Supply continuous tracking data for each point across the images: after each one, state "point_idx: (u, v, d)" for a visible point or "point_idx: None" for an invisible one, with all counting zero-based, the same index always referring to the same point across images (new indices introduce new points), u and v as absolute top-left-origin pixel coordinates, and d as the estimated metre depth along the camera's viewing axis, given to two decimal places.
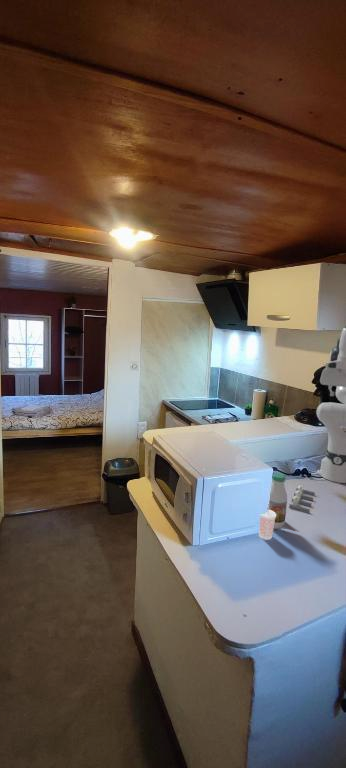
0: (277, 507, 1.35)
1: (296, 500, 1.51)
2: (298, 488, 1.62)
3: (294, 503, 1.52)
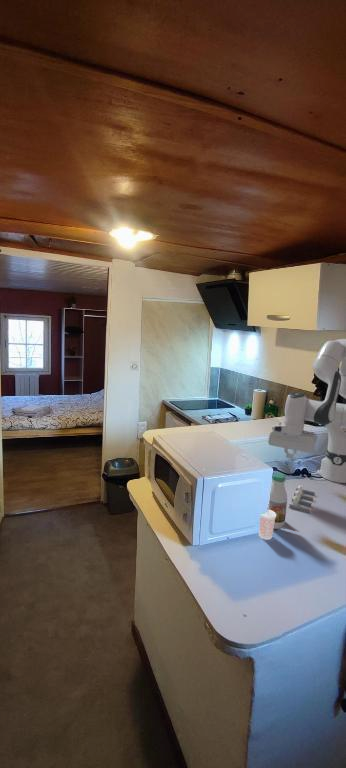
0: (277, 507, 1.35)
1: (296, 500, 1.51)
2: (298, 488, 1.62)
3: (294, 503, 1.52)
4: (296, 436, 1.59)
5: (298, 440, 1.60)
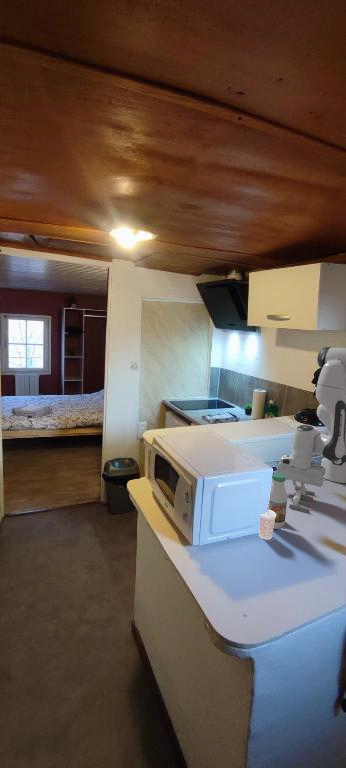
0: (277, 507, 1.35)
1: (296, 500, 1.51)
2: (301, 489, 1.62)
3: (294, 503, 1.52)
4: (304, 469, 1.59)
5: (306, 473, 1.60)
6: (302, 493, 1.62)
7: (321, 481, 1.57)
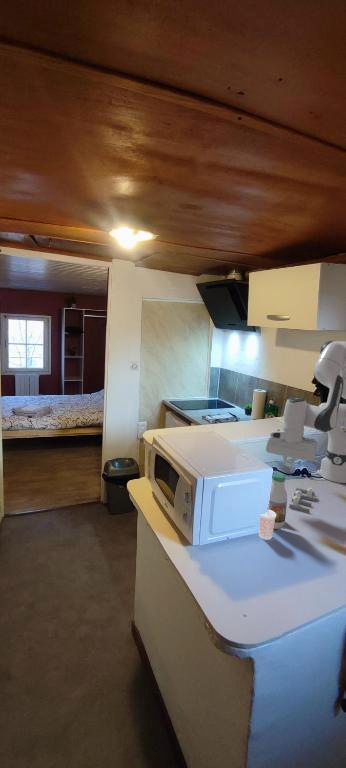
0: (277, 507, 1.35)
1: (296, 500, 1.51)
2: (307, 490, 1.61)
3: (294, 503, 1.52)
4: (295, 443, 1.50)
5: (298, 448, 1.51)
6: (308, 495, 1.61)
7: (313, 455, 1.48)
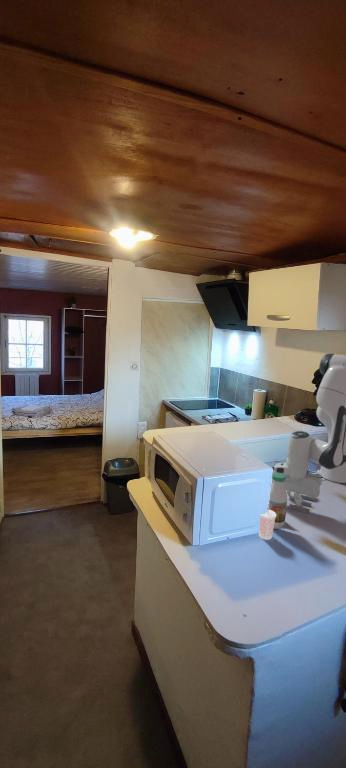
0: (277, 507, 1.35)
1: (299, 501, 1.51)
2: None
3: (297, 504, 1.51)
4: (299, 479, 1.49)
5: (301, 483, 1.50)
6: None
7: (317, 491, 1.47)
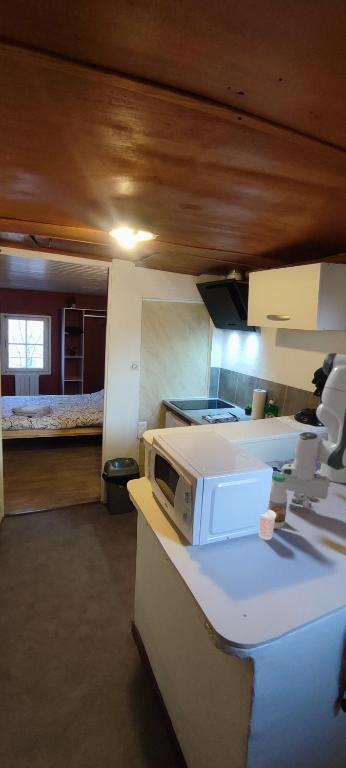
0: (277, 507, 1.35)
1: (306, 503, 1.50)
2: None
3: (304, 506, 1.50)
4: (307, 480, 1.48)
5: (309, 485, 1.48)
6: (308, 495, 1.61)
7: (325, 493, 1.45)
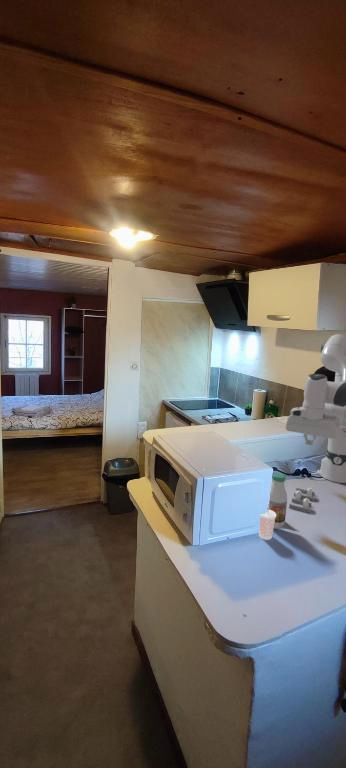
0: (277, 507, 1.35)
1: (306, 503, 1.50)
2: (307, 490, 1.61)
3: (304, 506, 1.50)
4: (316, 420, 1.49)
5: (319, 425, 1.49)
6: (308, 495, 1.61)
7: (335, 432, 1.47)
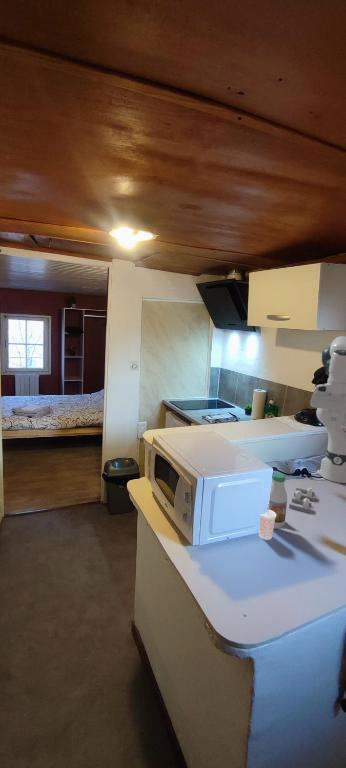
0: (277, 507, 1.35)
1: (306, 503, 1.50)
2: (307, 490, 1.61)
3: (304, 506, 1.50)
4: (342, 396, 1.51)
5: (344, 401, 1.51)
6: (308, 495, 1.61)
7: None
